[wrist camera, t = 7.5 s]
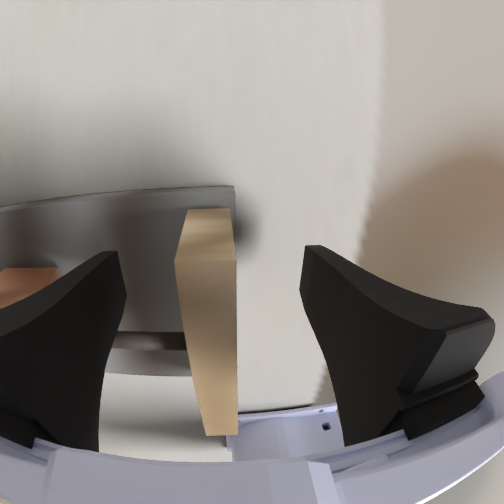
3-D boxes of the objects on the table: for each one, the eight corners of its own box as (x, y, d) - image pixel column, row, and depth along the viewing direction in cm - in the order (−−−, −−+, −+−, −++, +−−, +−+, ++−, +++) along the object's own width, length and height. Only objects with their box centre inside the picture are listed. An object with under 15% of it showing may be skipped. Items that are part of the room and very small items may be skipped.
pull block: (229, 207, 11) (236, 260, 7) (232, 374, 16) (238, 434, 12) (-8, 224, 10) (-57, 265, 6) (51, 364, 14) (32, 411, 11)
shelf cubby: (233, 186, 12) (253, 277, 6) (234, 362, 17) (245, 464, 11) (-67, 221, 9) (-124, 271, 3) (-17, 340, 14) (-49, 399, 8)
